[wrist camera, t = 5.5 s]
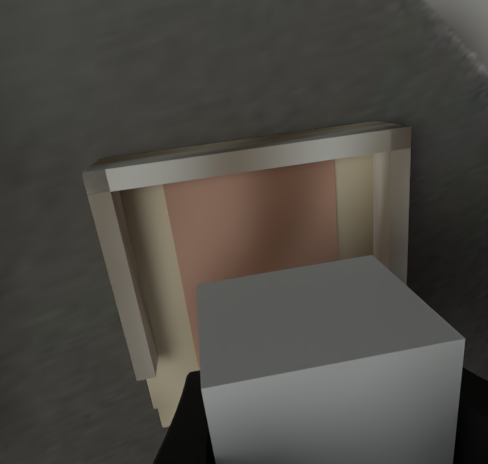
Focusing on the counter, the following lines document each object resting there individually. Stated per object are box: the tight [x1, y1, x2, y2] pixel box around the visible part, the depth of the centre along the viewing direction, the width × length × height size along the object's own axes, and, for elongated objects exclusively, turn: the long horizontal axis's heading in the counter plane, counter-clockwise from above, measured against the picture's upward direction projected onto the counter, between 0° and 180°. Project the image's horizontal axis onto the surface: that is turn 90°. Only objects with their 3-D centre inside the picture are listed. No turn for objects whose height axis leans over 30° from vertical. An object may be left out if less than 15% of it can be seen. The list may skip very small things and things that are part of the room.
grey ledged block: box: [197, 255, 465, 464], centre depth 10 cm, size 5×7×6 cm
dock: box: [82, 121, 411, 427], centre depth 18 cm, size 12×14×3 cm
